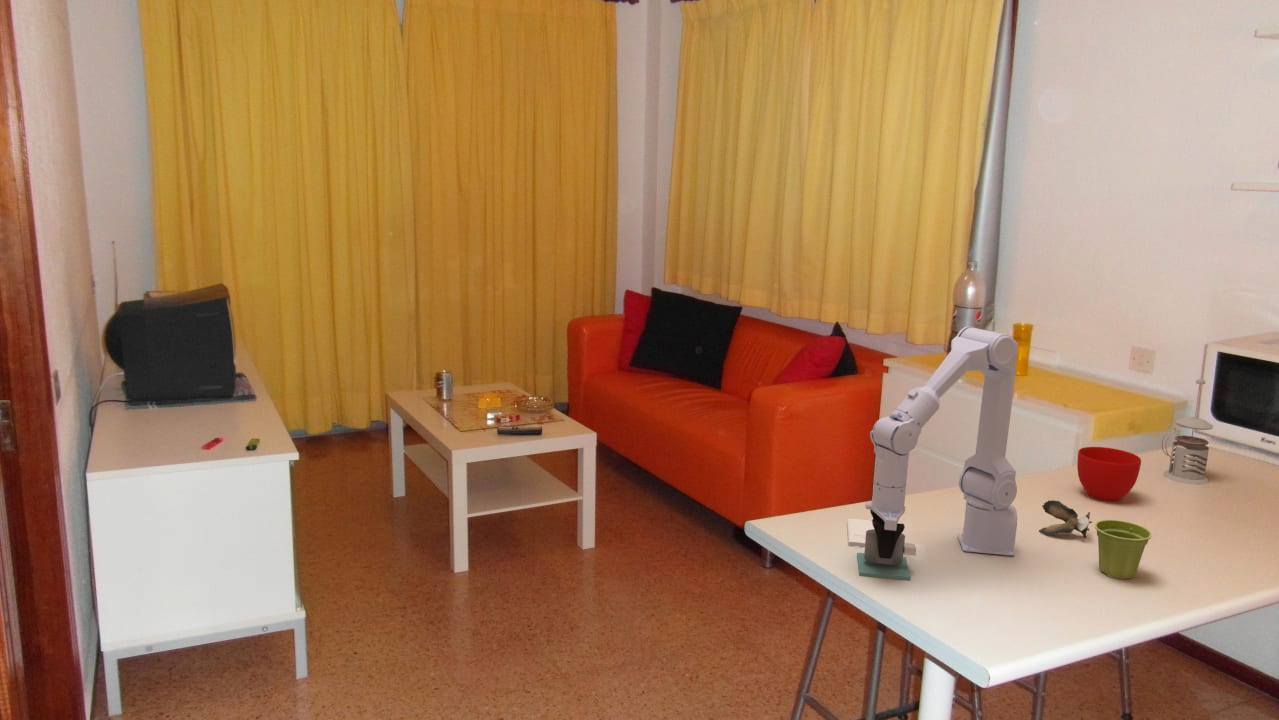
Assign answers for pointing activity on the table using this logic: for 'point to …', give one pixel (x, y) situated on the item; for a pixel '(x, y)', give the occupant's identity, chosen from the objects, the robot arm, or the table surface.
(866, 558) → the plug
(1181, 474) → the french press
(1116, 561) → the plant pot
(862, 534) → the external hard drive
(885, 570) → the mat
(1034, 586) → the table surface
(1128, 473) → the red bowl
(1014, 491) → the robot arm
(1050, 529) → the eagle figurine
